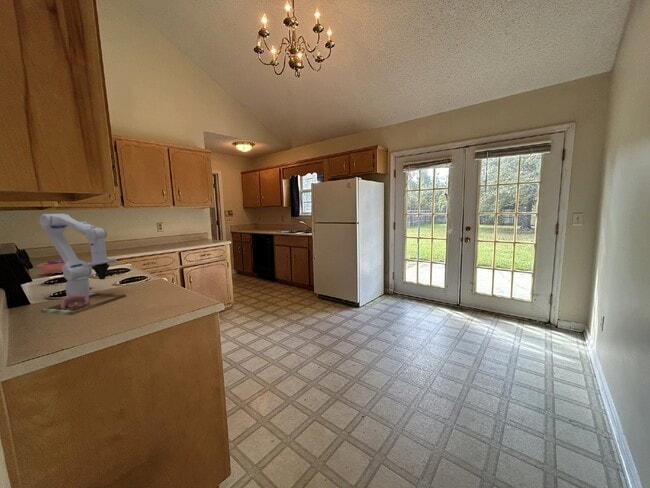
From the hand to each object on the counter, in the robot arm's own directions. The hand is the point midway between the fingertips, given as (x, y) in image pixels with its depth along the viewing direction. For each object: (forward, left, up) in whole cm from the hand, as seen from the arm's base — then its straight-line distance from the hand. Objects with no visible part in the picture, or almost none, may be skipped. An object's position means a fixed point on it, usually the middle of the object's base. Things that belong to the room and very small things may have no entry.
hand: (102, 279), depth 137 cm
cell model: (-93, +40, -10) cm, 101 cm away
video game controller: (+1, -14, -10) cm, 17 cm away
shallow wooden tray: (+1, -9, -9) cm, 13 cm away
